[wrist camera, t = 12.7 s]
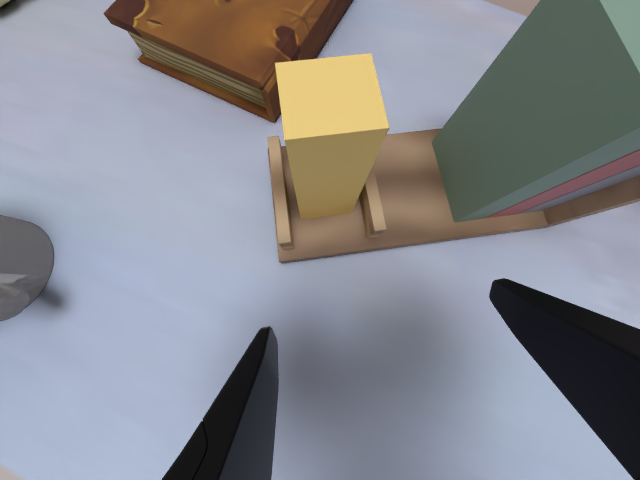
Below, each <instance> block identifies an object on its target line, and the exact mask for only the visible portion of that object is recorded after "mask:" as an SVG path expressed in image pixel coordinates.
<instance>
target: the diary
mask: <svg viewBox="0 0 640 480" xmlns="http://www.w3.org/2000/svg"><path fill="white" fill-rule="evenodd" d="M351 1H352V0H116V1H115V2H114V3H113V4H112V5H111V6H110V7H109V8H108V9H107V10H106V11H105V12H104V15H105V16H106V17H107V19H108V20H109V21H110V23H111V24H113V25H115V26H118V27H120V28H122V29H124V30H127V31H128V33H129V34H130V36H131V37H132V38H133V40H134V41H135V43H136V44H137V45H138V47H139V48H140V49H141V51H142V52H143V54H142V55H141V56H140V58H139V59H138V60H139V61H140V62H141V63H142V64H145V65H147V66H149V67H151V68H153V69H156V70H158V71H160V72H162V73H164V74H167V75H169V76H171V77H173V78H175V79H178V80H180V81H182V82H184V83H186V84H189V85H191V86H193V87H195V88H197V89H200V90H202V91H204V92H206V93H209V94H211V95H213V96H215V97H217V98H220V99H222V100H224V101H226V102H228V103H231V104H233V105H235V106H237V107H239V108H242V109H244V110H246V111H248V112H250V113H253V114H255V115H257V116H259V117H261V118H264V119H266V120H268V121H270V122H274V121H275V120H276V118H277V117H278V115H279V114H280V112H281V107H280V99H279V91H278V83H277V75H276V68H275V63H279V62H289V61H299V60H309V59H315V58H316V56H317V54H318V53H319V51H320V50H321V48H322V47H323V45H324V44H325V42H326V40H327V39H328V37H329V36H330V34H331V33H332V31H333V30H334V28H335V26H336V25H337V23H338V22H339V20H340V19H341V17H342V15H343V14H344V12H345V11H346V9H347V8H348V6H349V5H350V3H351Z"/></svg>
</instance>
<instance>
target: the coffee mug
mask: <svg viewBox="0 0 640 480" xmlns="http://www.w3.org/2000/svg"><path fill="white" fill-rule="evenodd" d="M53 263H54V253H53V246H52V244H51V241H50V239H49V237H48V236H47V234H46V233H45V232H44V231H43V230H42V229H41V228H40V227H38V226H36V225H35V224H32V223H30V222H26V221H22V220H18V219H14V218H10V217H6V216H2V215H0V321H3V320H7V319H9V318H12V317H14V316H16V315H18V314H19V313H20V312H22V310H23V309H24V308H26V307H27V306H28V305H29V304H30V303H31V302H33V301H34V299H35V298H36V297H37V296H38V295H39V294H40V292H41V291H42V290H43V288H44V287H45V285H46V283H47V281H48V279H49V277H50V275H51V272H52V268H53Z"/></svg>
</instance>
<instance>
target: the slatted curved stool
mask: <svg viewBox="0 0 640 480" xmlns="http://www.w3.org/2000/svg"><path fill="white" fill-rule="evenodd" d="M9 1H11V0H0V7H1V6H3V5H4V4H6V3H8V2H9Z"/></svg>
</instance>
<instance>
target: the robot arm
mask: <svg viewBox="0 0 640 480" xmlns="http://www.w3.org/2000/svg"><path fill="white" fill-rule="evenodd" d="M489 297H490V300H491V302H492V304H493V305H494V307H495V308H496V309H497V311H498V312H499V314H500V315H501V317H502V318H503V320H504V321H505V323H506V324H507V325H508V327H509V328H510V330H511V331H512V333H513V334H514V335H515V337H516V338H517V339H518V340H519V342H520V343H521V344H522V345H523V347H524V348H525V349H526V350H527V351H528V353H529V354H530V355H531V356H532V357H533V359H534V360H535V361H536V362H537V363H538V365H539V366H540V367H541V368H542V369H543V371H544V372H545V373H546V374H547V375H548V377H549V378H550V379H551V380H552V381H553V383H554V384H555V385H556V386H557V388H558V389H559V390H560V391H561V392H562V394H563V395H564V396H565V397H566V398H567V400H568V401H569V402H570V403H571V404H572V406H573V407H574V408H575V409H576V410H577V412H578V413H579V414H580V415H581V416H582V418H583V419H584V420H585V421H586V422H587V424H588V425H589V426H590V427H591V428H592V430H593V431H594V432H595V433H596V434H597V436H598V437H599V438H600V439H601V440H602V442H603V443H604V444H605V445H606V446H607V448H608V449H609V450H610V451H611V452H612V454H613V455H614V456H615V457H616V458H617V460H618V461H619V462H620V463H621V465H622V466H623V467H624V468H625V469H626V471H627V472H628V473H629V474H630V475H631V477H632V478H633V479H634V480H640V329H638V328H635V327H632V326H630V325H627V324H624V323H622V322H619V321H617V320H614V319H611V318H609V317H606V316H603V315H601V314H598V313H595V312H593V311H590V310H588V309H585V308H582V307H580V306H577V305H574V304H572V303H569V302H566V301H564V300H561V299H559V298H556V297H553V296H551V295H548V294H545V293H543V292H540V291H538V290H535V289H532V288H530V287H527V286H524V285H522V284H519V283H516V282H514V281H511V280H509V279H505V278H503V279H498V280H494V281H493V282H492V286H491V290H490V294H489ZM278 385H279V379H278V344H277V339H276V337H275V334H274V332H273V330H272V328H271V327H270V326H269V327H264V328H261V329H260V330H259V331H258V333H257V334H256V336H255V338H254V339H253V341H252V342H251V344H250V345H249V347H248V349H247V350H246V352H245V353H244V355H243V356H242V358H241V360H240V361H239V363H238V364H237V366H236V367H235V369H234V371H233V372H232V374H231V375H230V377H229V378H228V380H227V382H226V383H225V385H224V386H223V388H222V389H221V391H220V393H219V394H218V396H217V397H216V399H215V401H214V402H213V404H212V405H211V407H210V408H209V410H208V412H207V413H206V415H205V416H204V418H203V421H201V422H200V424H199V426H198V427H197V429H196V430H195V432H194V433H193V435H192V436H191V438H190V439H189V441H188V443H187V444H186V446H185V447H184V449H183V450H182V452H181V453H180V455H179V456H178V457H177V459H176V460H175V462H174V463H173V464H172V466H171V467H170V469H169V470H168V471H167V473H166V474H165V476H164V477H163V478H162V480H271V475H272V463H273V450H274V438H275V425H276V412H277V400H278Z"/></svg>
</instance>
